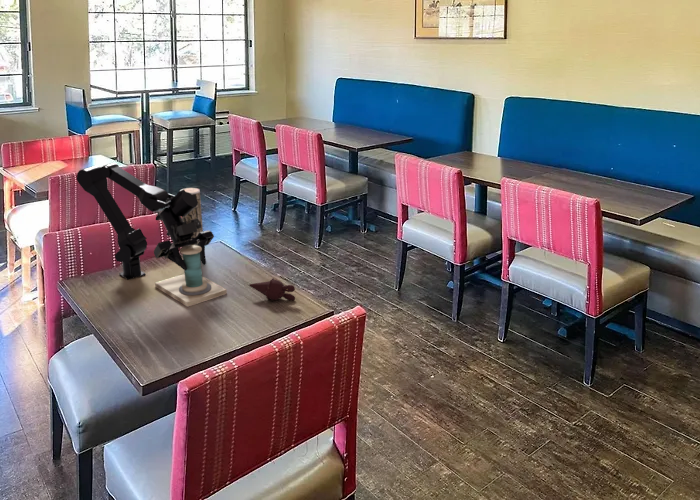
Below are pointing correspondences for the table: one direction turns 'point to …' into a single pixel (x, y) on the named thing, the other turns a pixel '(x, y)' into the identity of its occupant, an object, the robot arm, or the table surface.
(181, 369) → the table surface
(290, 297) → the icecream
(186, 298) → the stand board
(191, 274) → the bobbin
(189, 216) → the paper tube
